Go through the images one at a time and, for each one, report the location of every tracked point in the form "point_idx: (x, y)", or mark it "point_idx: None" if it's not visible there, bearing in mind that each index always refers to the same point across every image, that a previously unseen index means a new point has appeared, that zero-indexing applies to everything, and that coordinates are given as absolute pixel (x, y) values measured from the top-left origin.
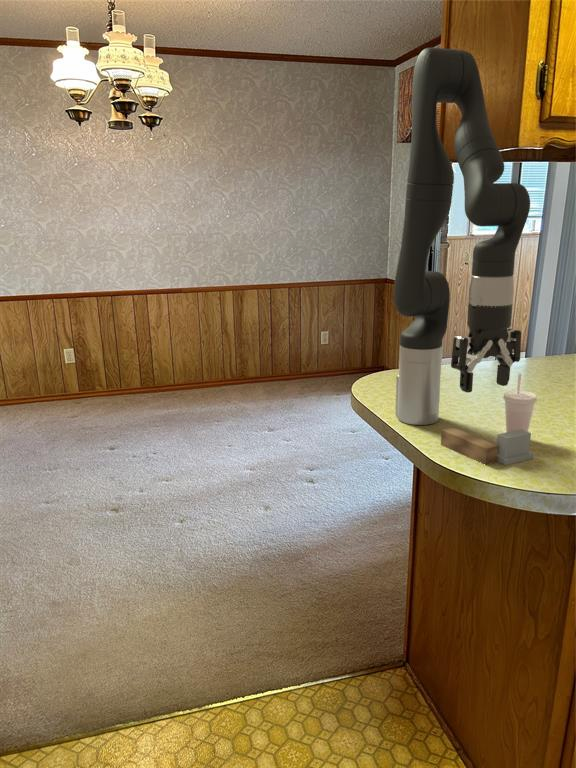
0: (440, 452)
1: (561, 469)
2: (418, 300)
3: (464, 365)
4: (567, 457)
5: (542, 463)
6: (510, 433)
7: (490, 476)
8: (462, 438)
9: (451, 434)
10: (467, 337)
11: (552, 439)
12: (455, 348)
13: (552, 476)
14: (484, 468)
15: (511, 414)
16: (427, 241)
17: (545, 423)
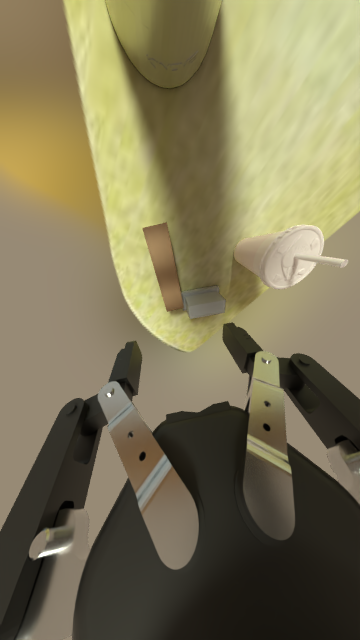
0: (133, 256)
1: (218, 325)
2: None
3: (98, 432)
4: (243, 308)
5: None
6: (204, 307)
7: (156, 323)
8: (156, 275)
9: (150, 253)
10: (55, 632)
11: None
12: (22, 521)
13: (202, 333)
14: (160, 309)
15: (250, 264)
16: None
17: (329, 206)
